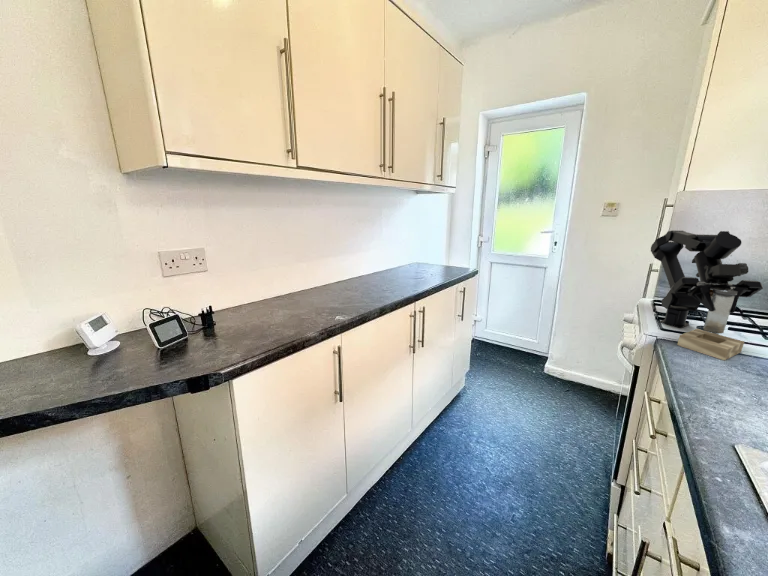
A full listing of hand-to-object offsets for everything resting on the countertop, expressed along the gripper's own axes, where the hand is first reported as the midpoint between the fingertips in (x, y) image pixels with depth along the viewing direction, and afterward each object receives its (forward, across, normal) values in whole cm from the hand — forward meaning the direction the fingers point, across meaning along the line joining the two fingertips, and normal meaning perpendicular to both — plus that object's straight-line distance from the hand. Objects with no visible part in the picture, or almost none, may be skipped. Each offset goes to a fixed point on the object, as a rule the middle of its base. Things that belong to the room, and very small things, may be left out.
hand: (722, 311), depth 93 cm
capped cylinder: (+4, 0, +6) cm, 7 cm away
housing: (+8, 0, +10) cm, 13 cm away
